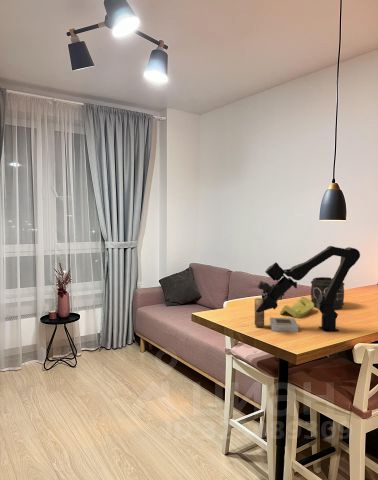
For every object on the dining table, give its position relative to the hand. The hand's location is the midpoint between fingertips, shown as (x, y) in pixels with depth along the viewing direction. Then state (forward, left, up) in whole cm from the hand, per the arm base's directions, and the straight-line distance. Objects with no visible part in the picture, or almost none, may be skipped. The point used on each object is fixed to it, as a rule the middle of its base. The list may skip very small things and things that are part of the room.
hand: (256, 310), depth 169 cm
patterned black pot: (+27, -54, -8) cm, 61 cm away
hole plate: (-4, -12, -8) cm, 14 cm away
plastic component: (+17, -31, -8) cm, 36 cm away
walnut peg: (0, -1, -7) cm, 7 cm away
